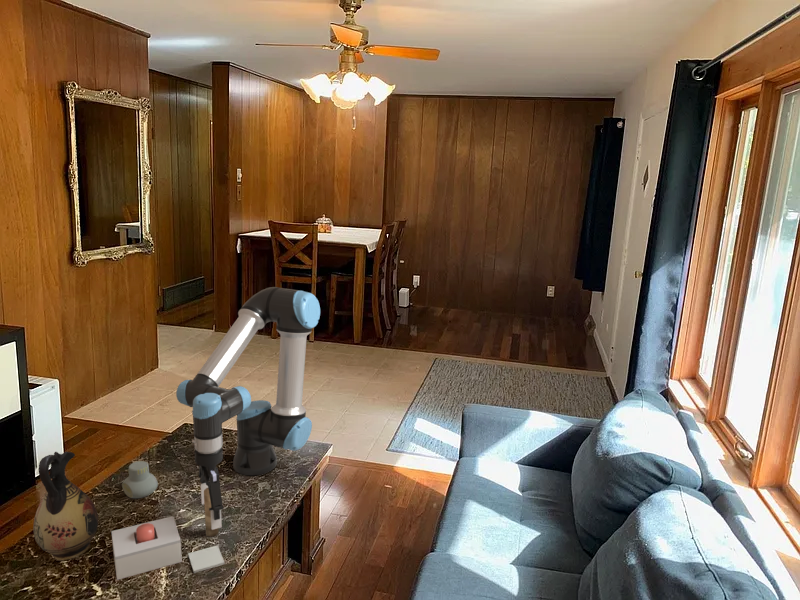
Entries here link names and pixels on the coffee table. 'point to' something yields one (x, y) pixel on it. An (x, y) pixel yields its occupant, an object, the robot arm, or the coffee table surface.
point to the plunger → (145, 533)
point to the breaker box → (146, 548)
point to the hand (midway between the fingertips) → (211, 515)
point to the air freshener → (139, 481)
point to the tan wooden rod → (208, 515)
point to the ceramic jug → (63, 512)
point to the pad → (205, 559)
